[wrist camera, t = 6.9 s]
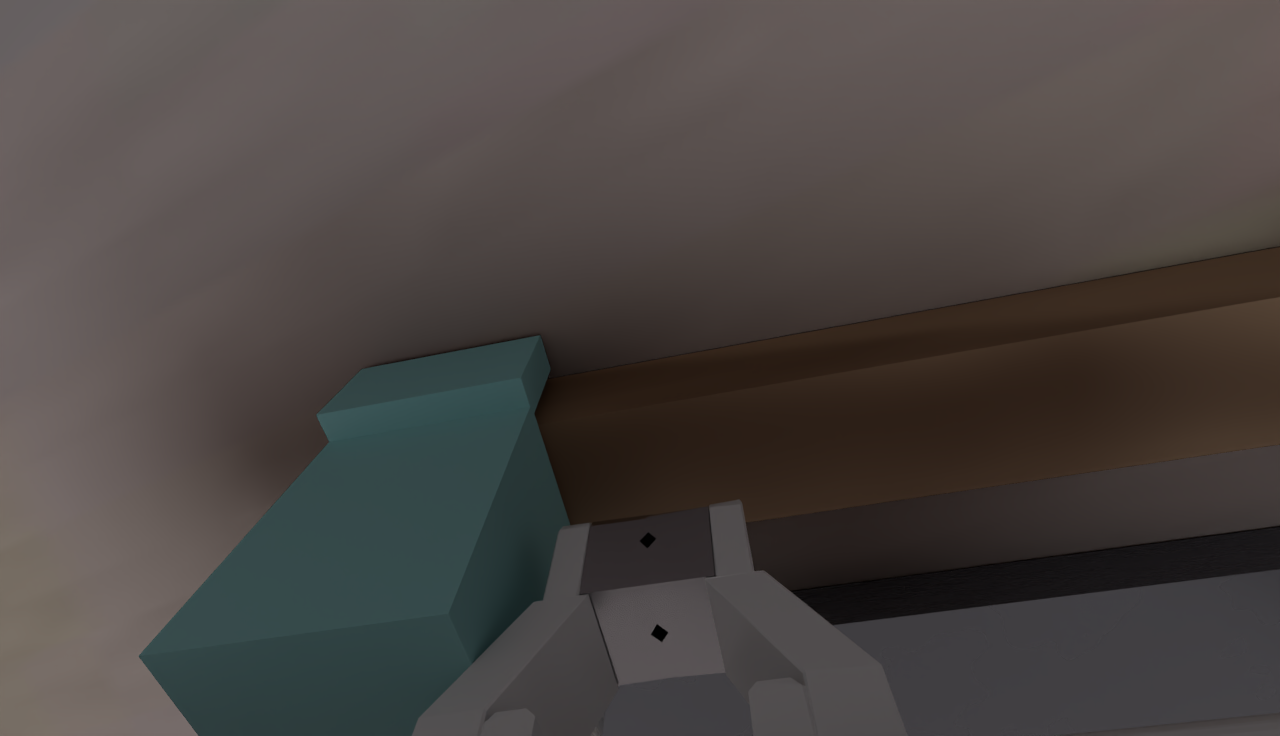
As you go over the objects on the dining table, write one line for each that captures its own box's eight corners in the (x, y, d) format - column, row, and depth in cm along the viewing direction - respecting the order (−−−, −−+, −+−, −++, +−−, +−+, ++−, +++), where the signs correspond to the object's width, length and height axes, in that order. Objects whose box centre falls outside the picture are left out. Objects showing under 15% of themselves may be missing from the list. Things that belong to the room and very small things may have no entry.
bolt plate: (1374, 711, 17) (1490, 816, 15) (531, 795, 20) (512, 895, 18) (1454, 503, 14) (1614, 593, 12) (458, 635, 17) (425, 728, 15)
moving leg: (641, 670, 17) (628, 1008, 11) (500, 687, 18) (413, 1020, 12) (540, 335, 13) (429, 573, 7) (361, 368, 14) (111, 619, 8)
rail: (1499, 346, 13) (1635, 392, 11) (405, 518, 16) (371, 577, 14) (1556, 196, 12) (1718, 221, 10) (357, 413, 15) (313, 463, 13)
